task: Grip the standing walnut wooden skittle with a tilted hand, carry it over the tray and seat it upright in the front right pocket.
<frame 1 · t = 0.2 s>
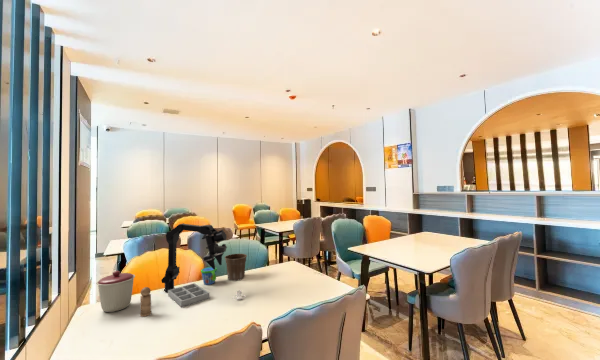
hand: (217, 267, 170), 15 cm above the table, fingers open, 9 cm apart
plant pot: (236, 278, 194), on the table
tray: (188, 297, 161), on the table
snack cup: (209, 283, 184), on the table
canister: (116, 308, 149), on the table
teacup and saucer: (234, 300, 156), on the table
skittle: (145, 314, 140), on the table
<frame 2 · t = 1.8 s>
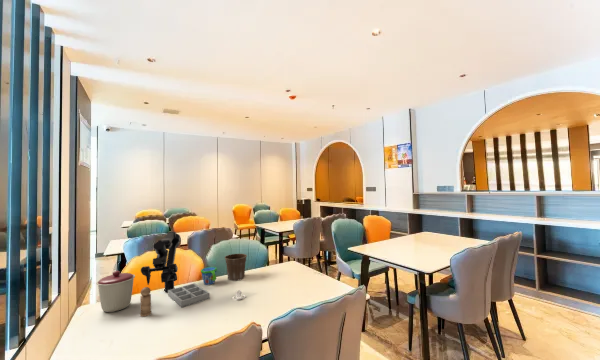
hand: (156, 283, 148), 14 cm above the table, fingers open, 9 cm apart
nothing on the table moved.
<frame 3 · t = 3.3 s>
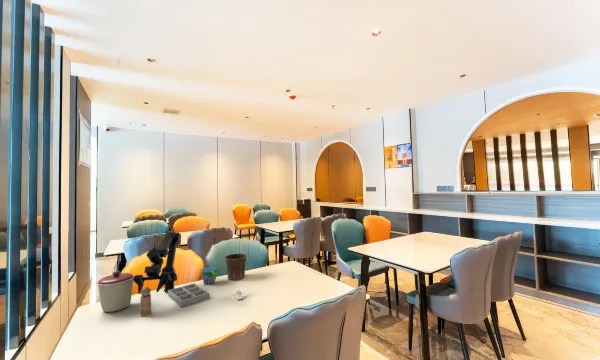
hand: (147, 292, 143), 10 cm above the table, fingers open, 9 cm apart
nothing on the table moved.
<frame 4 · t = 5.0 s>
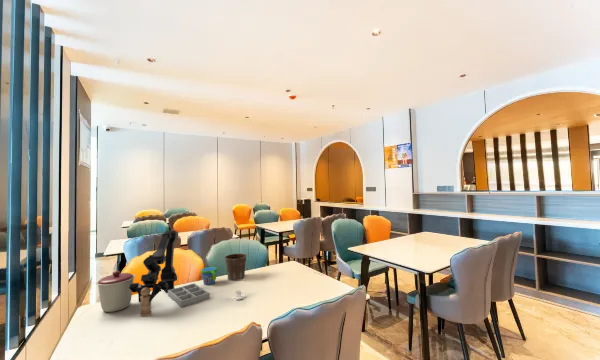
hand: (144, 302, 138), 7 cm above the table, fingers closed on skittle, 5 cm apart
skittle: (145, 314, 140), on the table, touching gripper
everything else where it was.
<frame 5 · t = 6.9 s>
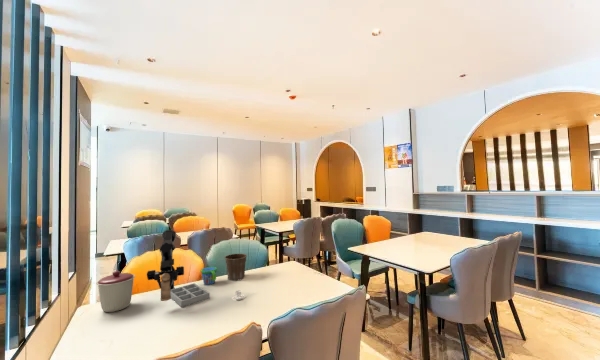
hand: (165, 287, 143), 13 cm above the table, fingers closed on skittle, 5 cm apart
skittle: (165, 299, 144), point 6 cm above the table, touching gripper
everything else where it was.
when the fingers open (9 cm above the table, at t = 9.1 s): skittle drops 1 cm, resting on tray.
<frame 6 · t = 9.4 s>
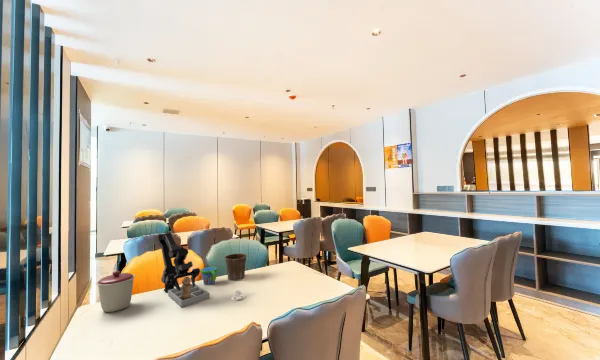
hand: (187, 288, 152), 9 cm above the table, fingers open, 8 cm apart
skittle: (186, 301, 152), point 1 cm above the table, touching tray
everything else where it was.
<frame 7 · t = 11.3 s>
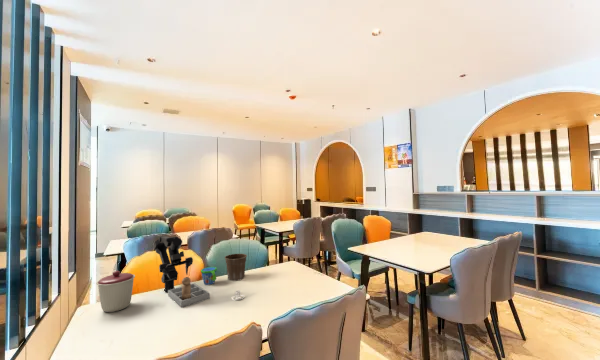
hand: (178, 277, 158), 14 cm above the table, fingers open, 9 cm apart
nothing on the table moved.
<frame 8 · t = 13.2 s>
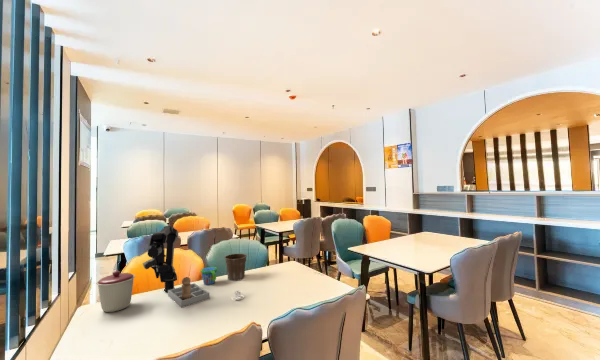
hand: (159, 279, 156), 13 cm above the table, fingers open, 9 cm apart
nothing on the table moved.
at the end: skittle 0.0 cm from the target spot on the tray, point 0.6 cm above the tray's base; skittle tilted 0°; the gripper is holding nothing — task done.
